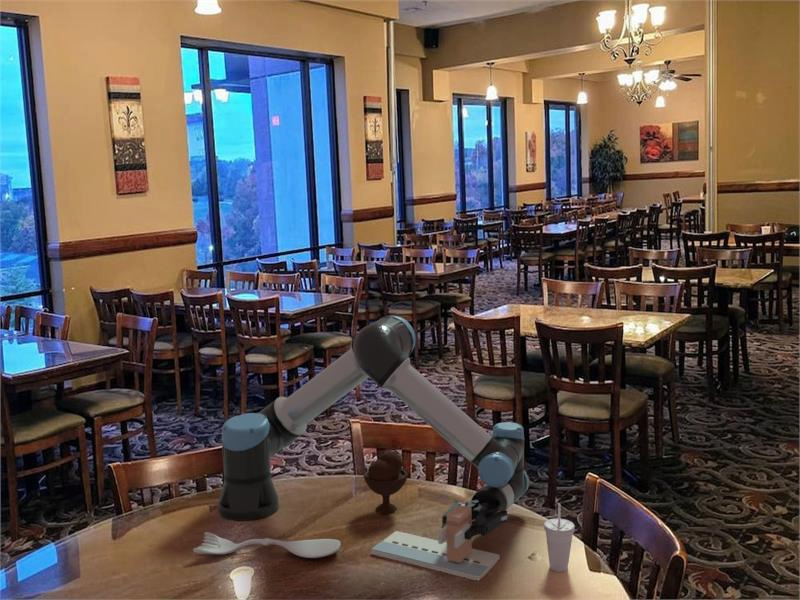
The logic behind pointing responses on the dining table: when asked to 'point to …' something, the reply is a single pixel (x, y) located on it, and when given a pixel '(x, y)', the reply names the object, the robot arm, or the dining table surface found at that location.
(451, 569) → the board
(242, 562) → the dining table surface
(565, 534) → the smoothie
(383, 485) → the ice cream bowl
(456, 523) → the small tan carton
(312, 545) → the spoon
